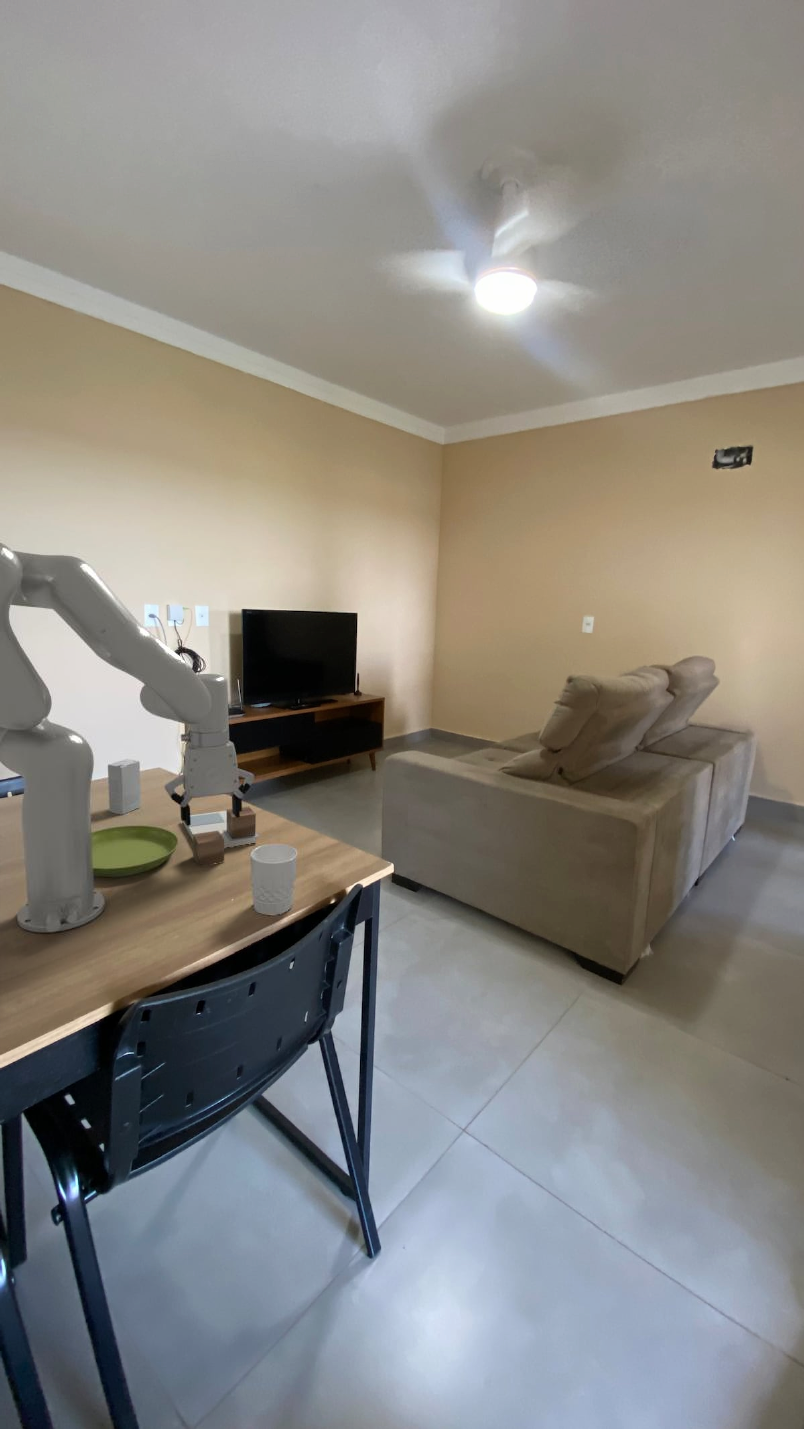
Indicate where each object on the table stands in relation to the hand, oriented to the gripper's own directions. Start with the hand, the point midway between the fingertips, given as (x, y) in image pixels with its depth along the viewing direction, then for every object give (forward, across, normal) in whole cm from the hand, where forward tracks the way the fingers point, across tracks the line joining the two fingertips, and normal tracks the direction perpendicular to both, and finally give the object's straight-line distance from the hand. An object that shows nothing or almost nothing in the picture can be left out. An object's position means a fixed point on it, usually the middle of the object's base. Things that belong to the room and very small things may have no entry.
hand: (212, 819), depth 119 cm
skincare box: (+9, -13, +34) cm, 38 cm away
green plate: (+8, -16, +6) cm, 19 cm away
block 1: (+8, -1, 0) cm, 9 cm away
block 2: (+7, +7, +7) cm, 12 cm away
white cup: (+8, +5, -24) cm, 25 cm away
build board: (+9, +4, +12) cm, 16 cm away
